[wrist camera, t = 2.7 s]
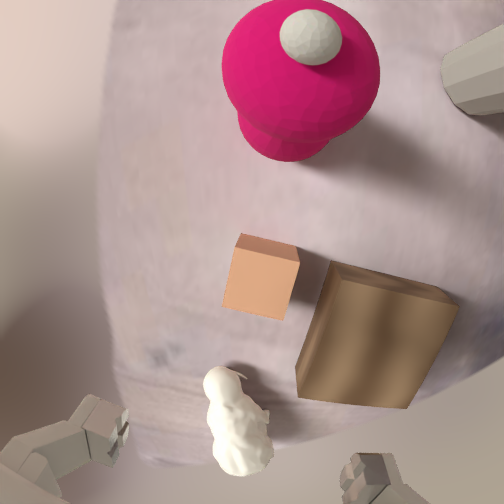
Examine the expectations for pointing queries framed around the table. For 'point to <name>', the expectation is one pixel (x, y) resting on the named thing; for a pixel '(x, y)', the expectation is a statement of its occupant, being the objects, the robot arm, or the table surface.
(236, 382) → the penguin figurine
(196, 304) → the table surface
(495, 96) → the water bottle
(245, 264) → the terracotta cube
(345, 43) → the pepper mill
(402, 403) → the walnut stand
